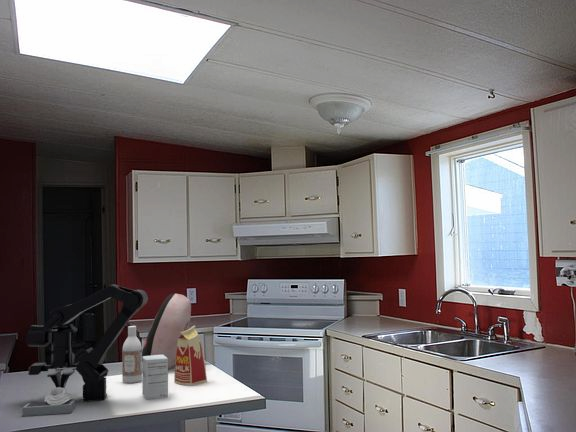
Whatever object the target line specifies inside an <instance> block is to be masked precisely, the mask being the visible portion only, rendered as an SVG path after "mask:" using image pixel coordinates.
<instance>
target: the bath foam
mask: <svg viewBox="0 0 576 432" xmlns="http://www.w3.org/2000/svg"><path fill="white" fill-rule="evenodd" d="M142 351H143V347H142V342H141V341H140V339H139V338H138V337H137V325H130V326H127V338H126V339H125V341H124V342H123V345H122V350H121V353H122V355H121V357H122V359H121V360H122V361H121V362H122V366H121V367H122V368H121V369H122V371H121V373H122V383H124V384H136V383H140V382H142Z"/></svg>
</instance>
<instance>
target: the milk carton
mask: <svg viewBox="0 0 576 432" xmlns="http://www.w3.org/2000/svg"><path fill="white" fill-rule="evenodd" d="M207 377H208V376H207V369H206V362H205V357H204V352H203V347H202V344H201V339H200V335H199V333H198V332H197V330H196V325H193V326H191V327H189V329H188V330H186V331H183V332H181V336H180V337H179V338H178V344H177V351H176V360H175V364H174V379H173V380H174V381H173V382H174V383H175V384H178V385H181V386H194V385H199V384H203V383H207V382H208V378H207Z"/></svg>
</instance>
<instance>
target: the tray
mask: <svg viewBox="0 0 576 432" xmlns="http://www.w3.org/2000/svg"><path fill="white" fill-rule="evenodd" d="M75 406H76V401H75V399H74V400H71V401H70V402H69V403H67V404H66V403H63V404H60V405H50V404H48V405H36V406H35V405H34V406H32V405H31V402H30V403H26V404H25V405H24V406H23V407H21V415H22V416H21V417H30V416H31V417H33V416H44V415H45V416H46V415H57V414H58V415H59V414H60V415H61V414H72V413H73V411H74V410H75V408H76V407H75Z"/></svg>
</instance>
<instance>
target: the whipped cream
mask: <svg viewBox="0 0 576 432" xmlns="http://www.w3.org/2000/svg"><path fill="white" fill-rule="evenodd" d="M72 398H73V397H72V396H71V395H70V394H69V393H68V392H67V390H66V387H65V388H61V387H57V388H56V387H54V388H51V390H49V392H48V393H47V394H46V395H45V398H44V400H43V402H44V403H47V404H48V405H64V404H66V403H67V402H69V401H70V400H71V401H72Z"/></svg>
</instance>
